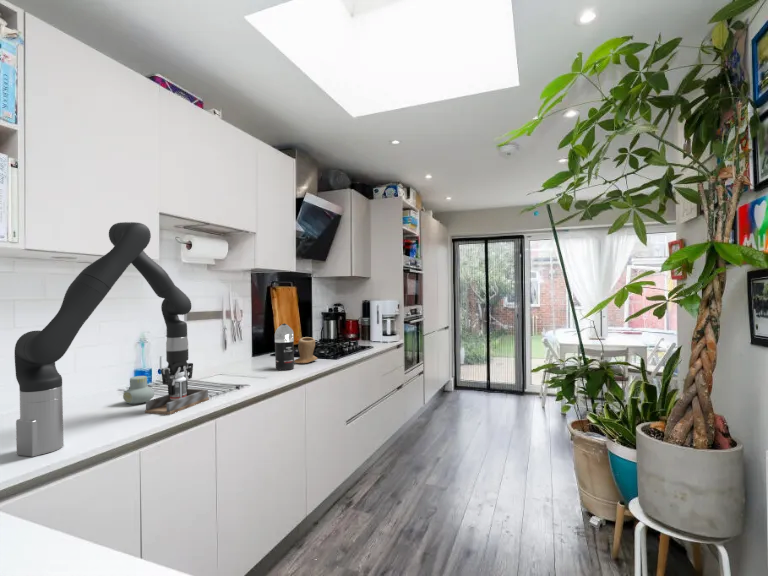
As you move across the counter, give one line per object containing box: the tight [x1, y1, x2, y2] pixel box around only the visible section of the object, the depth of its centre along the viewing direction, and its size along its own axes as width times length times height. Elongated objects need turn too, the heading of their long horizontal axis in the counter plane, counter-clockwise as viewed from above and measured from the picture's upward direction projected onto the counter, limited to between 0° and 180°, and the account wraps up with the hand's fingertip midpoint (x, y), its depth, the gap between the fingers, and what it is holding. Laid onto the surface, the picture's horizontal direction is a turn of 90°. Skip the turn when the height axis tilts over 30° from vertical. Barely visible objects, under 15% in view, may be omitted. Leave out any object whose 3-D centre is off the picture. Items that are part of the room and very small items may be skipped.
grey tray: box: [144, 388, 210, 415], centre depth 157 cm, size 20×11×4 cm, turn 164°
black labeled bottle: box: [274, 323, 295, 371], centre depth 227 cm, size 10×10×25 cm
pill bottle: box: [170, 372, 187, 400], centre depth 157 cm, size 6×6×10 cm
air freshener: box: [122, 375, 155, 405], centre depth 164 cm, size 11×8×10 cm
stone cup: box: [294, 336, 319, 364], centre depth 246 cm, size 15×12×15 cm
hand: (178, 392), depth 157 cm, fingers closed on pill bottle, 5 cm apart
